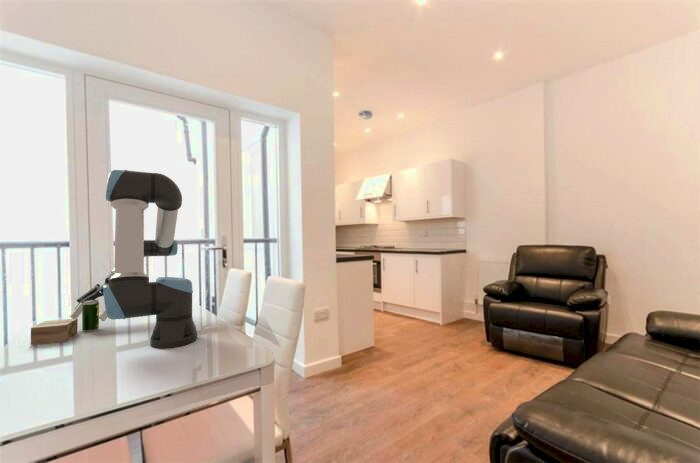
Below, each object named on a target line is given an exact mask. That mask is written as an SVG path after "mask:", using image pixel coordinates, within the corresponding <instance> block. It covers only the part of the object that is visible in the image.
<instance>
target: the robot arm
mask: <svg viewBox="0 0 700 463" xmlns="http://www.w3.org/2000/svg"><path fill="white" fill-rule="evenodd" d="M105 189H106V190H105V200H106V201H108V202H110V206H111V207H112V208H113V209H114V210H115V222H114V223H115V224H114V228H115V229H114V265H113V266H114V268H113V269H112V270H111V271H110V273H109V274H108V275H107V276H106V278H105V279H104V280H105V281H104V283H103V284H102V285H101V284H99V283H97V284H95V286H94V287H92V288H91V289H90V290H87V292H85V293H84V294H83V295H82V296H80V297H79V298H77V299H76V302H77V303H78V305H76V306H75V308H74V310H73V311H72V312H71V313H70V315H69V318H70V319H78V318H79V316H80V315H82V304H83V301H87V300H98V298H100V297H103V301H104V306H105V308H104V309H103V311H102V312H101V313H100V314H99V320H101V321H102V322H105V321H106V319H110V320H126V319H131V318H141V317H142V318H143V317H149V316H155V317H156V318H155V324H154V327H153V330H152V333H151V335H150V341H149V342H150V343H149V344H150V346H151V347H152V348H157V349H158V348H159V349H167V348H176V347H182V346H185V345H188V344H189V345H190V344H191V342H192V343H194V342H195V341H197V340H198V330H197V328H196V325H195V322H194V319H193V293H194V290H193V282H192V281H191V279H188V278H184V277H176V276H175V277H174V276H171V277H170V276H159V277H156V279H155V281H150V277H149V275H147V274H146V273H145V257H170V256H171V257H173V256H177V254H178V249H179V248H178V246H179V245H178V241H177V240H176V239H175V234H176V228H177V227H176V226H177V220H178V214H179V212H178V211H179V209H180V208H181V207H182V206H183V204H182V203H183V195H182V192H181V190H180V187H179V186H178V185H177V184H176V182H175V181H174V180H172V179H171V178H170V177H168V176H167V175H165V174H163V173H159V172H149V171H148V172H145V171H135V170H128V169H113V170H111V171H110V172H109V175H108V177H107V182H106V187H105ZM149 204H155V206H156V207H157V209H156V210H157V211H156V212H157V213H156V223H155V224H156V225H155V237H154V238H155V240H154V239H153V240H152V239H151V240H144V239H145V235H144V234H145V219H144V218H145V211H146V209H148V208H149ZM196 339H197V340H196ZM193 341H194V342H193Z"/></svg>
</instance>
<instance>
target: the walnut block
mask: <svg viewBox="0 0 700 463" xmlns="http://www.w3.org/2000/svg"><path fill="white" fill-rule="evenodd" d="M78 328H79V327H78V318H77V319H72V318H68V319H55V320H54V319H53V320H44V321H43V322H40V323H38V324H36V325H34V326H32V327H30V346H31V345H33V346H34V345H41V344H42V345H43V344H53V343H63V342H68V341H69V340H70V339H72V338H73V337H75V336H77V335H78Z"/></svg>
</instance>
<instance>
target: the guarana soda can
mask: <svg viewBox="0 0 700 463" xmlns="http://www.w3.org/2000/svg"><path fill="white" fill-rule="evenodd" d="M81 316H82V317H81V330H82V332H84V333H89V332H90V333H91V332H95V331H98V330H99V328H100V318H99V316H100V302H99V299H95V300H87V301H83V304H82V312H81Z"/></svg>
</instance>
